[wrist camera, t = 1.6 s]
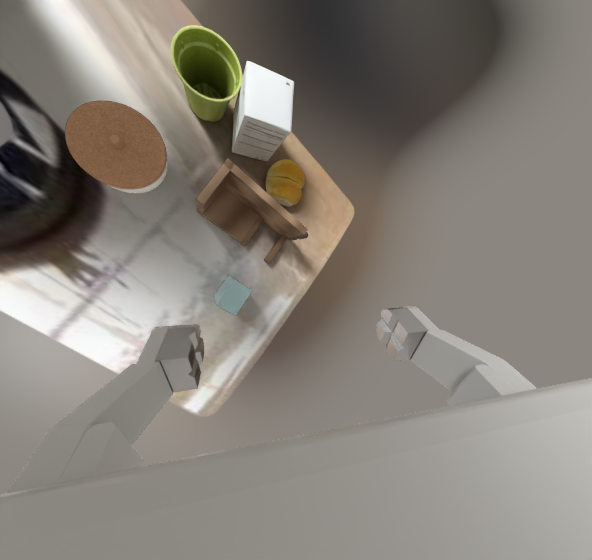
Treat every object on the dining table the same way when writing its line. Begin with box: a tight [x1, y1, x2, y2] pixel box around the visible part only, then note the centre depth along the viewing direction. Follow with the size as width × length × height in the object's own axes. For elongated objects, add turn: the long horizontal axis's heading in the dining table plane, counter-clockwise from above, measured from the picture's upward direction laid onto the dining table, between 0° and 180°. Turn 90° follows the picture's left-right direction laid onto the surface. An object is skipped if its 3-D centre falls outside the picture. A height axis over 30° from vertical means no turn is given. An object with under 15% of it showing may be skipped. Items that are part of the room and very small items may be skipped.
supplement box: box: [232, 61, 294, 162], centre depth 36 cm, size 7×7×13 cm
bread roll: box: [266, 159, 305, 207], centre depth 44 cm, size 8×9×4 cm
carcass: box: [196, 158, 308, 263], centre depth 39 cm, size 18×8×10 cm, turn 55°
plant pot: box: [171, 26, 242, 122], centre depth 35 cm, size 9×9×9 cm
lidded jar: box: [65, 101, 167, 193], centre depth 31 cm, size 11×11×9 cm
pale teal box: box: [214, 275, 252, 316], centre depth 40 cm, size 5×5×9 cm
